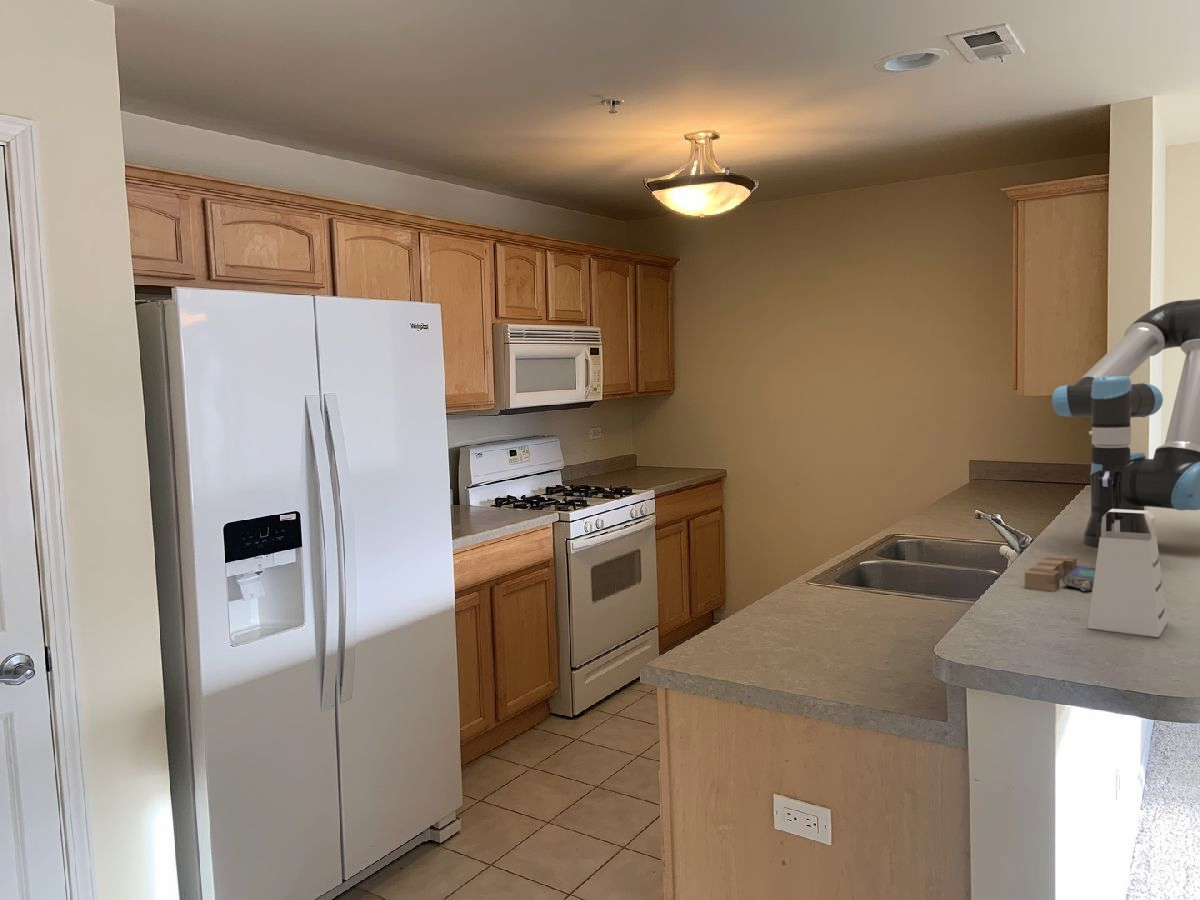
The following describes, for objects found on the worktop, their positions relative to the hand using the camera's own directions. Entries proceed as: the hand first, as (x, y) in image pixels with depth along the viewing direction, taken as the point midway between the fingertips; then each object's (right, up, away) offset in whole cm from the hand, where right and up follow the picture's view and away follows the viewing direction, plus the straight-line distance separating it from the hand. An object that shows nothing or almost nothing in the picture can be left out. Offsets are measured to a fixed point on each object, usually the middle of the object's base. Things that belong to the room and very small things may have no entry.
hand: (1110, 550), depth 198 cm
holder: (-12, -6, -14) cm, 19 cm away
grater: (-22, -8, -44) cm, 50 cm away
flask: (-11, -6, -13) cm, 18 cm away
